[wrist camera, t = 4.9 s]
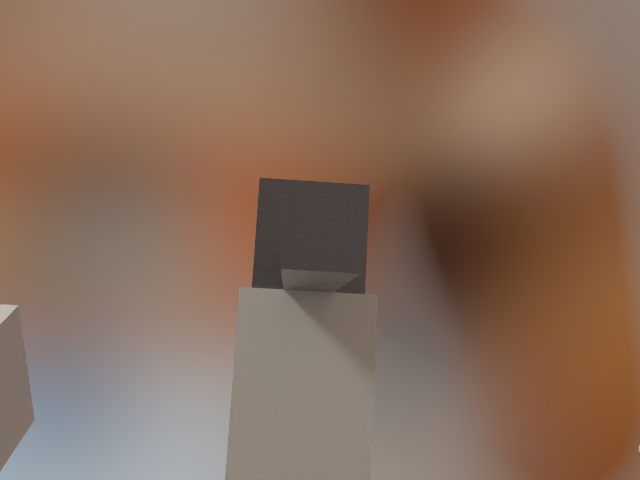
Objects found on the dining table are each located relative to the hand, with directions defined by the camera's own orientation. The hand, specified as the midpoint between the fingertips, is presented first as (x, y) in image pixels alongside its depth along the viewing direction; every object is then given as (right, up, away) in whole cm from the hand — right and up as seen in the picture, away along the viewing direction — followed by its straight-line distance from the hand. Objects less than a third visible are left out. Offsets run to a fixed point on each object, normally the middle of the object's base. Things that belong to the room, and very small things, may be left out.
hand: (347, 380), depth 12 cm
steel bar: (-1, +1, +11) cm, 12 cm away
